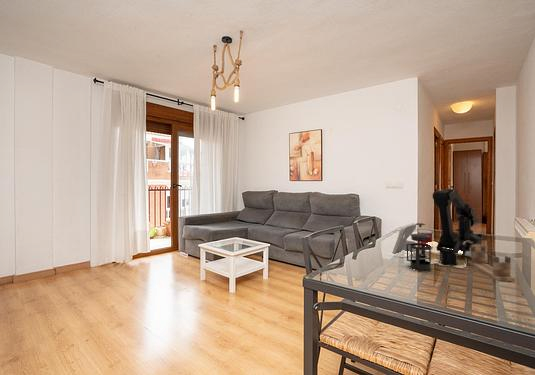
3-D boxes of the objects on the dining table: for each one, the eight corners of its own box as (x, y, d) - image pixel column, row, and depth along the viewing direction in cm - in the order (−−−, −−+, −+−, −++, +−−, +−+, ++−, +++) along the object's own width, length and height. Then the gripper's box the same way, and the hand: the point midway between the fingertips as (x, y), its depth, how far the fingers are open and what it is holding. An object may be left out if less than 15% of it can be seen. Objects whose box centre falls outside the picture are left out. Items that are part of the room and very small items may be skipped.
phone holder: (400, 249, 176) (400, 221, 175) (417, 252, 168) (417, 222, 168) (386, 254, 165) (386, 224, 165) (404, 258, 157) (403, 226, 157)
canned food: (434, 249, 172) (434, 232, 172) (421, 250, 172) (421, 232, 172) (427, 246, 180) (427, 229, 179) (415, 247, 180) (415, 230, 180)
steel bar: (484, 260, 145) (484, 255, 145) (444, 250, 166) (444, 245, 166) (487, 259, 146) (487, 254, 146) (447, 249, 167) (447, 245, 166)
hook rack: (498, 281, 121) (498, 258, 121) (467, 263, 145) (467, 244, 144) (514, 281, 120) (514, 259, 120) (481, 264, 144) (481, 245, 143)
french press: (435, 268, 140) (435, 223, 139) (429, 273, 133) (429, 226, 132) (410, 263, 148) (410, 220, 147) (403, 268, 141) (403, 223, 140)
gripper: (467, 232, 144) (467, 261, 145) (491, 228, 151) (490, 257, 152) (447, 228, 155) (447, 256, 156) (469, 225, 161) (469, 252, 162)
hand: (464, 255), depth 156 cm, fingers closed on steel bar, 2 cm apart
